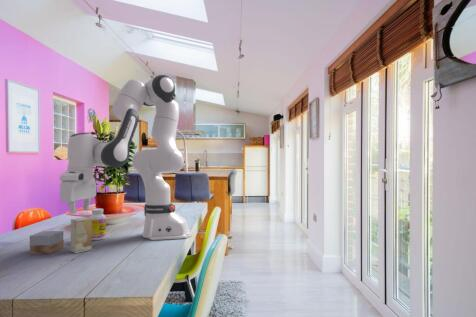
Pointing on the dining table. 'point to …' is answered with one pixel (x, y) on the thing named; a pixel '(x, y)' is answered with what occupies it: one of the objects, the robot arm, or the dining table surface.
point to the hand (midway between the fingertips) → (79, 211)
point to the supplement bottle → (98, 224)
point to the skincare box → (81, 234)
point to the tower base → (46, 248)
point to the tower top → (46, 238)
